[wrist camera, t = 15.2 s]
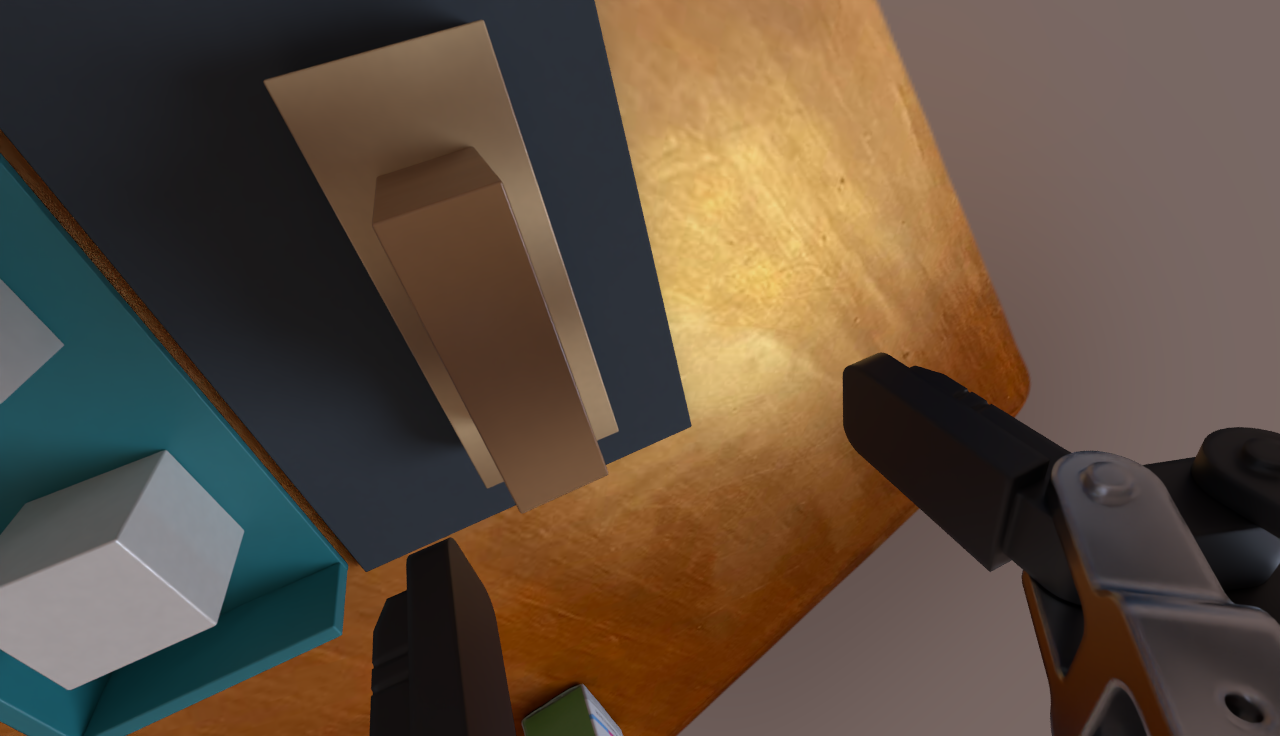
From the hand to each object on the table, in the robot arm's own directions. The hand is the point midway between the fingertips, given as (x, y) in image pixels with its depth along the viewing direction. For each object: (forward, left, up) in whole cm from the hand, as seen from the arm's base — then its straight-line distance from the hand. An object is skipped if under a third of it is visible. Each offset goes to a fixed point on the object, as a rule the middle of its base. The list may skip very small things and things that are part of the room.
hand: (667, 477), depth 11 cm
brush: (-1, -2, -11) cm, 11 cm away
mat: (-1, -3, -11) cm, 11 cm away
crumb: (+3, -15, -11) cm, 18 cm away
